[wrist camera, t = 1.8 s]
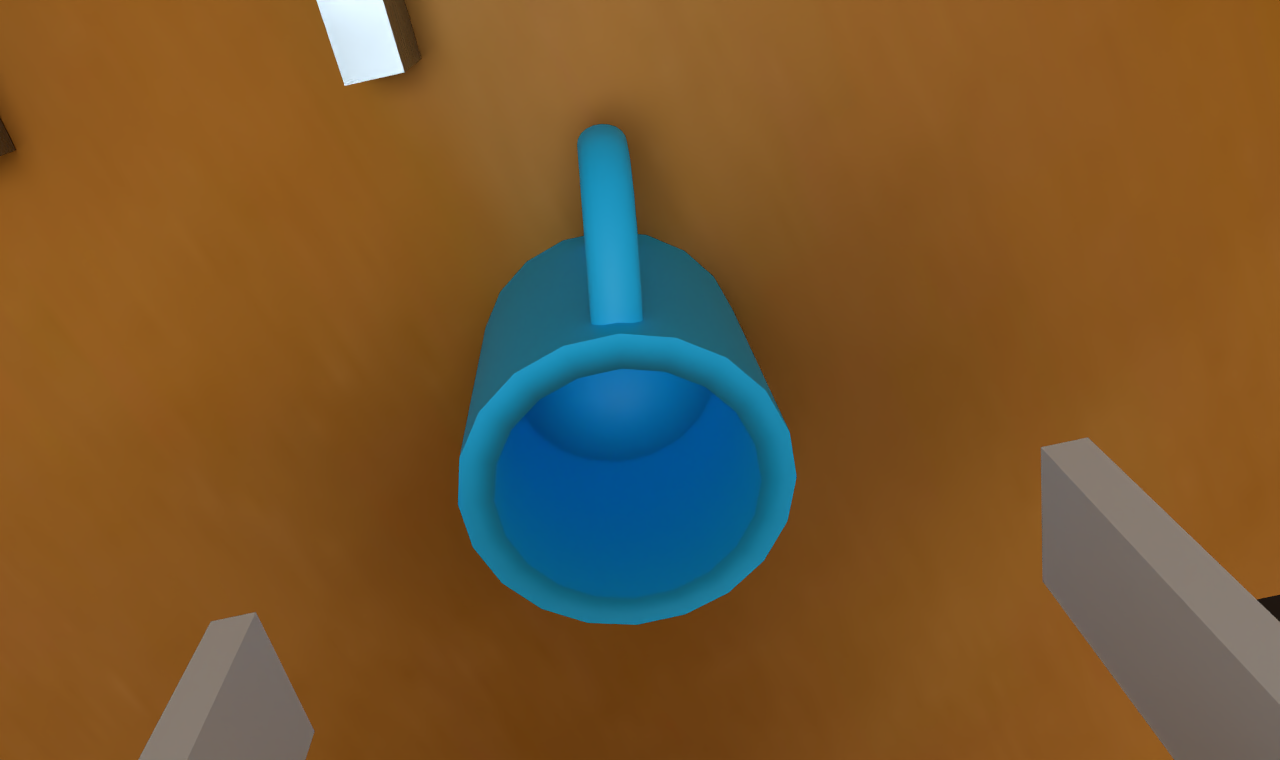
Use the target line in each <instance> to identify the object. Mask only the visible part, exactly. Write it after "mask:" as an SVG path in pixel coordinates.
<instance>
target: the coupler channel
mask: <svg viewBox="0 0 1280 760" xmlns="http://www.w3.org/2000/svg"><path fill="white" fill-rule="evenodd" d="M317 3H318V6H319V9H320V12H321V15H322V18H323V21H324V24H325V27H326V30H327V33H328V36H329V39H330V42H331V45H332V48H333V51H334V54H335V57H336V60H337V63H338V66H339V69H340V72H341V76H342V79H343V82H344V85H345V86H346V85H350V84H355V83H359V82H363V81H368V80H372V79H377V78H381V77H386V76H390V75H395V74H399V73H403V72H405V71H407V70H408V69H409V68H410V67H412V66H413V65H414V64H415V63H417V62H418V61H419V60H420V59H421V56H420V53H419V49H418V46H417V42H416V39H415V36H414V32H413V29H412V25H411V22H410V19H409V15H408V12H407V8H406V5H405V1H404V0H317ZM15 150H16V149H15V147H14V145H13V143H12V141H11V139H10V137H9V135H8V133H7V131H6V129H5V127H4V125H3V123H2V121H1V119H0V156H1V155H4V154H7V153H9V152H12V151H15Z"/></svg>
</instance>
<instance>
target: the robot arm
mask: <svg viewBox="0 0 1280 760" xmlns="http://www.w3.org/2000/svg"><path fill="white" fill-rule="evenodd" d="M1041 485H1042V562H1043V582H1044V584H1045V585H1046V586H1047V588H1048V589H1049V590H1050V592H1051V593H1052V594H1053V596H1054V597H1055V598H1056V600H1057V601H1058V603H1059V604H1060V605H1061V607H1062V608H1063V609H1064V611H1065V612H1066V613H1067V615H1068V616H1069V617H1070V619H1071V620H1072V622H1073V623H1074V624H1075V626H1076V627H1077V628H1078V630H1079V631H1080V632H1081V634H1082V635H1083V636H1084V638H1085V639H1086V641H1087V642H1088V643H1089V645H1090V646H1091V647H1092V649H1093V650H1094V651H1095V653H1096V654H1097V655H1098V657H1099V658H1100V659H1101V661H1102V662H1103V664H1104V665H1105V666H1106V668H1107V669H1108V670H1109V672H1110V673H1111V674H1112V676H1113V677H1114V678H1115V680H1116V681H1117V683H1118V684H1119V685H1120V687H1121V688H1122V689H1123V691H1124V692H1125V693H1126V695H1127V696H1128V697H1129V699H1130V700H1131V702H1132V703H1133V704H1134V706H1135V707H1136V708H1137V710H1138V711H1139V712H1140V714H1141V715H1142V716H1143V718H1144V719H1145V721H1146V722H1147V723H1148V725H1149V726H1150V727H1151V729H1152V730H1153V731H1154V733H1155V734H1156V735H1157V737H1158V738H1159V740H1160V741H1161V742H1162V744H1163V745H1164V746H1165V748H1166V749H1167V750H1168V752H1169V753H1170V754H1171V756H1172V757H1173V759H1174V760H1280V595H1277V596H1272V597H1267V598H1262V599H1257V600H1256V599H1255V598H1254V597H1253V596H1252V595H1251V594H1250V593H1249V592H1248V591H1247V590H1246V589H1245V588H1244V587H1243V586H1242V585H1241V584H1240V583H1239V582H1238V581H1237V580H1236V579H1234V578H1233V577H1232V576H1231V575H1230V574H1229V573H1228V572H1227V571H1226V570H1225V569H1224V568H1223V567H1222V566H1221V565H1220V564H1219V563H1218V562H1217V561H1216V560H1215V559H1214V558H1213V557H1212V556H1211V555H1210V554H1208V553H1207V552H1206V551H1205V550H1204V549H1203V548H1202V547H1201V546H1200V545H1199V544H1198V543H1197V542H1196V541H1195V540H1194V539H1193V538H1192V537H1191V536H1190V535H1189V534H1188V533H1187V532H1186V531H1185V530H1184V529H1182V528H1181V527H1180V526H1179V525H1178V524H1177V523H1176V522H1175V521H1174V520H1173V519H1172V518H1171V517H1170V516H1169V515H1168V514H1167V513H1166V512H1165V511H1164V510H1163V509H1162V508H1161V507H1160V506H1159V505H1158V504H1156V503H1155V502H1154V501H1153V500H1152V499H1151V498H1150V497H1149V496H1148V495H1147V494H1146V493H1145V492H1144V491H1143V490H1142V489H1141V488H1140V487H1139V486H1138V485H1137V484H1136V483H1135V482H1134V481H1133V480H1132V479H1130V478H1129V477H1128V476H1127V475H1126V474H1125V473H1124V472H1123V471H1122V470H1121V469H1120V468H1119V467H1118V466H1117V465H1116V464H1115V463H1114V462H1113V461H1112V460H1111V459H1110V458H1109V457H1108V456H1107V455H1106V454H1104V453H1103V452H1102V451H1101V450H1100V449H1099V448H1098V447H1097V446H1096V445H1095V444H1094V443H1093V442H1092V441H1091V440H1090V439H1089V438H1083V439H1079V440H1074V441H1069V442H1064V443H1060V444H1055V445H1050V446H1045V447H1041ZM313 734H314V729H313V727H312V725H311V723H310V721H309V719H308V717H307V715H306V713H305V711H304V709H303V707H302V705H301V703H300V701H299V699H298V697H297V695H296V693H295V691H294V689H293V687H292V685H291V683H290V681H289V679H288V677H287V675H286V673H285V671H284V669H283V667H282V664H281V662H280V660H279V658H278V656H277V654H276V652H275V650H274V648H273V646H272V644H271V642H270V640H269V638H268V636H267V634H266V632H265V630H264V628H263V626H262V624H261V622H260V620H259V618H258V616H257V614H256V612H254V613H249V614H245V615H240V616H235V617H230V618H226V619H221V620H216V621H211V622H210V624H209V626H208V628H207V630H206V632H205V634H204V636H203V638H202V640H201V641H200V643H199V645H198V647H197V649H196V651H195V653H194V655H193V657H192V659H191V661H190V662H189V664H188V666H187V668H186V670H185V672H184V674H183V676H182V678H181V680H180V681H179V683H178V685H177V687H176V689H175V691H174V693H173V695H172V697H171V699H170V701H169V702H168V704H167V706H166V708H165V710H164V712H163V714H162V716H161V718H160V720H159V722H158V723H157V725H156V727H155V729H154V731H153V733H152V735H151V737H150V739H149V741H148V742H147V744H146V746H145V748H144V750H143V752H142V754H141V756H140V758H139V760H305V759H306V756H307V753H308V750H309V747H310V744H311V740H312V737H313Z"/></svg>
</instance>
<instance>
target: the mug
mask: <svg viewBox="0 0 1280 760" xmlns="http://www.w3.org/2000/svg"><path fill="white" fill-rule="evenodd" d="M577 148H578V162H579V175H580V188H581V202H582V215H583V228H584V236H581V237H577V238H572V239H568V240H563V241H561V242H560V243H558V244H556V245H554V246H553V247H551V248H549V249H548V250H546V251H544V252H542V253H541V254H539V255H537V256H536V257H534V258H532V259H530V260H529V261H527V262H526V263H525V264H524V265H523V267H522V268H521V269H520V270H519V271H518V272H517V273H516V274H515V276H514V277H513V278H512V279H511V280H510V281H509V282H508V284H507V285H506V286H505V287H504V288H503V289H502V290H501V292H500V294H499V296H498V299H497V301H496V303H495V306H494V308H493V311H492V313H491V316H490V318H489V321H488V323H487V325H486V328H485V333H484V338H483V343H482V348H481V353H480V358H479V363H478V368H477V373H476V378H475V383H474V388H473V393H472V398H471V403H470V408H469V413H468V418H467V423H466V428H465V433H464V438H463V443H462V448H461V453H460V458H459V488H458V506H459V509H460V512H461V515H462V517H463V520H464V523H465V526H466V529H467V532H468V535H469V537H470V540H471V543H472V546H473V548H474V549H475V551H476V552H477V553H478V554H479V555H480V557H481V558H482V559H483V560H484V562H485V563H486V564H487V565H488V567H489V568H490V569H491V570H492V571H493V573H494V574H495V575H496V576H497V578H498V579H499V580H500V581H501V583H503V584H504V585H506V586H507V587H509V588H510V589H512V590H513V591H515V592H516V593H518V594H520V595H521V596H523V597H524V598H526V599H527V600H529V601H530V602H532V603H533V604H535V605H536V606H538V607H540V608H541V609H544V610H547V611H551V612H554V613H557V614H560V615H564V616H567V617H570V618H573V619H577V620H580V621H583V622H587V623H605V624H631V625H638V624H643V623H647V622H652V621H657V620H661V619H666V618H670V617H675V616H680V615H684V614H687V613H689V612H691V611H693V610H695V609H697V608H699V607H701V606H703V605H705V604H707V603H709V602H711V601H713V600H715V599H717V598H719V597H721V596H723V595H725V594H727V593H729V592H730V591H731V590H732V589H733V588H734V587H735V586H736V585H738V584H739V583H740V582H741V581H742V580H743V579H744V578H745V577H746V576H747V575H749V574H750V573H751V572H752V571H753V570H754V569H755V568H756V567H757V566H759V565H760V564H761V563H762V562H763V561H764V560H765V558H766V556H767V555H768V553H769V551H770V549H771V548H772V546H773V544H774V543H775V541H776V539H777V538H778V536H779V534H780V533H781V531H782V529H783V528H784V526H785V524H786V523H787V521H788V516H789V511H790V506H791V501H792V497H793V492H794V487H795V482H796V478H797V476H796V470H795V463H794V457H793V451H792V444H791V438H790V432H789V430H788V427H787V425H786V423H785V421H784V419H783V417H782V415H781V412H780V410H779V408H778V406H777V404H776V402H775V400H774V397H773V395H772V393H771V391H770V389H769V387H768V385H767V382H766V380H765V378H764V376H763V374H762V372H761V370H760V367H759V365H758V363H757V361H756V359H755V357H754V355H753V353H752V350H751V348H750V346H749V344H748V342H747V340H746V338H745V335H744V333H743V331H742V329H741V327H740V325H739V323H738V320H737V318H736V316H735V314H734V312H733V310H732V308H731V306H730V304H729V303H728V301H727V299H726V297H725V296H724V294H723V292H722V290H721V289H720V287H719V285H718V283H717V281H716V280H715V278H714V277H713V276H712V275H711V274H710V273H709V272H708V271H707V270H705V269H704V268H703V267H702V266H701V265H700V264H699V263H697V262H696V261H695V260H694V259H693V258H692V257H691V256H690V255H688V254H687V253H686V252H685V251H683V250H681V249H679V248H676V247H674V246H671V245H669V244H667V243H664V242H662V241H660V240H657V239H655V238H652V237H650V236H648V235H641V234H638V232H637V221H636V210H635V198H634V188H633V180H632V171H631V162H630V155H629V150H628V145H627V140H626V136H625V135H624V133H623V132H622V131H621V130H620V129H618V128H617V127H615V126H612V125H608V124H598V125H593V126H591V127H589V128H587V129H585V130H584V131H583V132H582V133H581V135H580V136H579V138H578V143H577Z"/></svg>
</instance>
